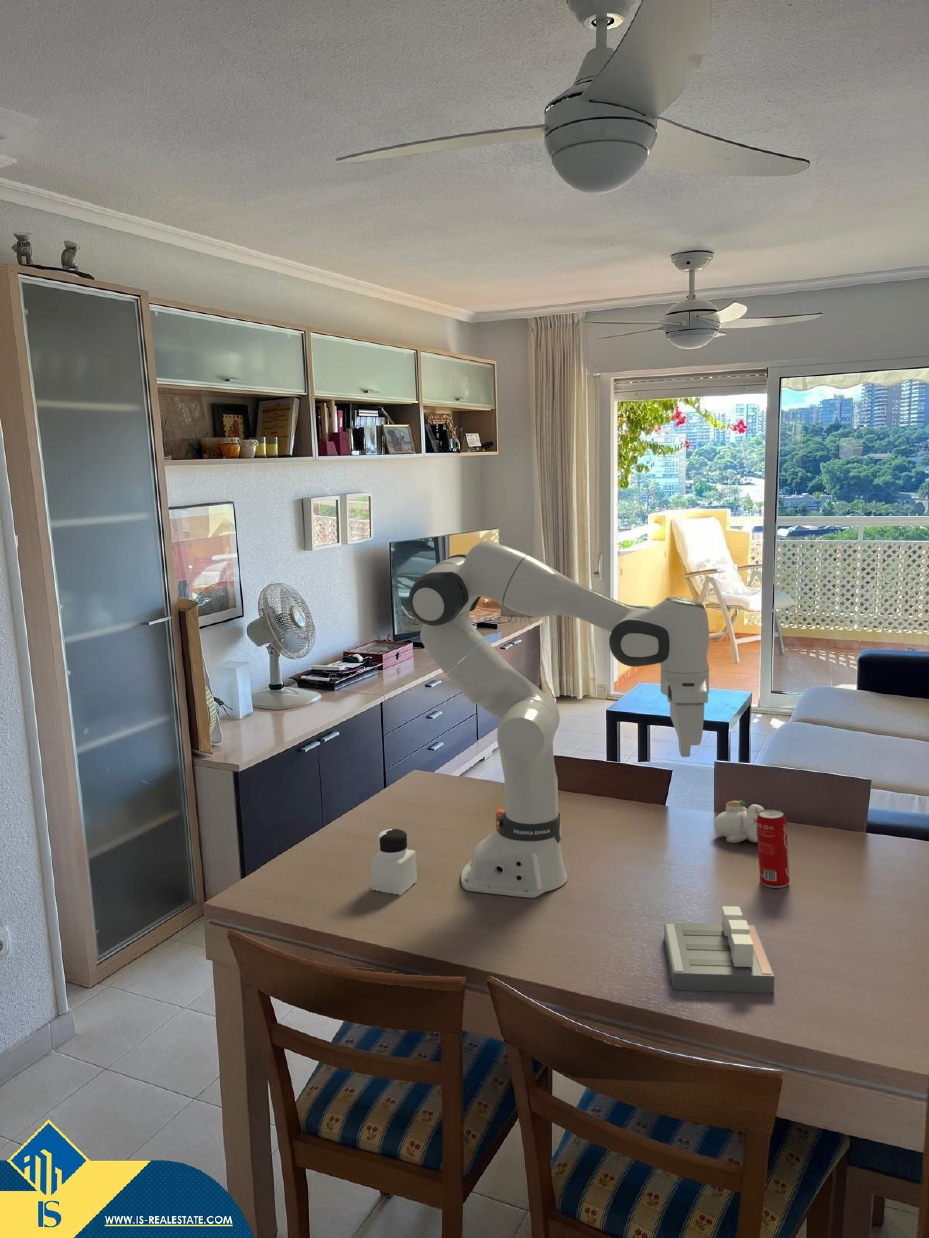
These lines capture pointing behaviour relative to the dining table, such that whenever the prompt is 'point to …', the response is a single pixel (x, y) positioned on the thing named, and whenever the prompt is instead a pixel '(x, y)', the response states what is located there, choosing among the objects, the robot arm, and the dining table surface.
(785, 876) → the beverage can
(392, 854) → the medicine bottle
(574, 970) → the dining table surface
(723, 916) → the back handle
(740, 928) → the beige square block
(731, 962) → the grey slider board
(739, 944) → the front handle
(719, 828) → the cat figurine
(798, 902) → the dining table surface
